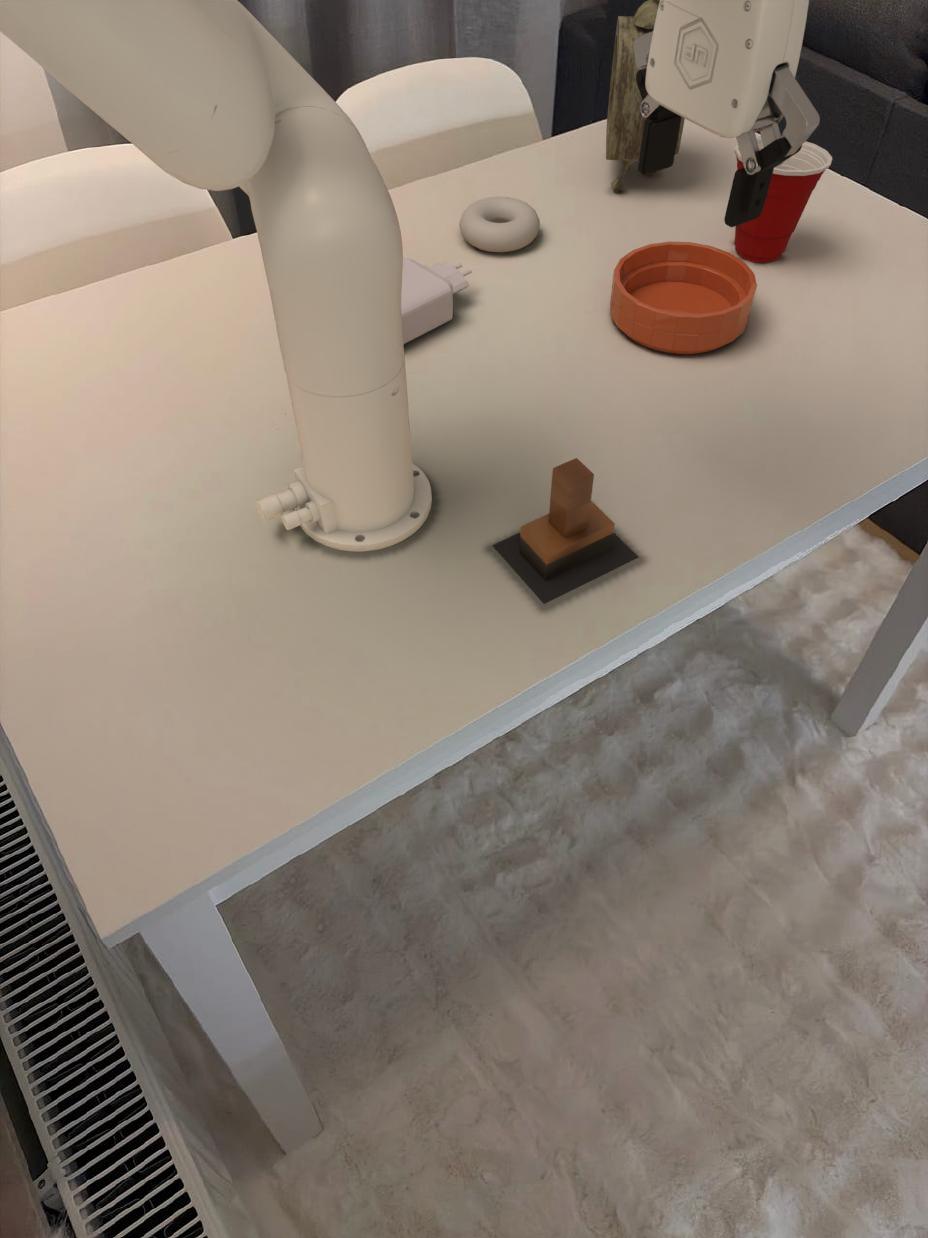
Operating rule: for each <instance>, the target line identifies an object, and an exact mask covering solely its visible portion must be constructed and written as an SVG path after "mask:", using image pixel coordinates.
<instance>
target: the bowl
mask: <svg viewBox="0 0 928 1238" xmlns="http://www.w3.org/2000/svg"><path fill="white" fill-rule="evenodd" d="M612 274H613V276H612V284H611V292H610V299H609V300H610V301H609V311H610V312H609V314H610V317H611V319H612V320H613V322H614V323H615V325H616V327H617V328H618V329H619V330H620V331H622V333H624V335H626V336H627V337H628V339H629V338H630V339H631V340H632V341H634V342H635V343H637V344H639V345H641V346H643V347H646V348H648V349H651V350H654V351H657V352H663V353H669V354H676V355H677V354H678V355H694V354H703V353H707V352H711V351H714V350H717V349H719V348H722V347H724V346H726V345H728V344H730V343H733V342H734V341H735V340H736V339H737V338H738V337H740V336H741V335H742V334H743V333H744V332H745V330H746V327H747V325H748V323H749V319H750V316H751V311H752V308H753V303H754V300H755V297H756V296H755V295H756V292H757V288H758V284H757V279H756V275H755V273H754V271H753V270H752V269H751V268H750V266H749V265H748V264H747V263H746V262H745V261H743V260H742V259H740V258H739V257H737V256H736V255H734V254H733V253H731V252H729V251H727V250H723V249H721V248H718V247H715V246H713V245H708V244H704V243H703V244H702V243H698V242H690V241H663V242H656V243H648V244H646V245H644V246H641V247H638V248H635V249H632V250H631V251H629V252H628V253H627V254H625V255H624V256H622V257H621V258H620V259H619V260H618V262H617V264H616V266H615V267H614V269H613V273H612Z"/></svg>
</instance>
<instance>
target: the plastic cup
mask: <svg viewBox="0 0 928 1238" xmlns="http://www.w3.org/2000/svg"><path fill="white" fill-rule="evenodd" d="M756 139H757V143H758V147H759V151H760V150H761V149H763V148H764V146H763V142H762V138H761V135H757V136H756ZM734 154H735V156H736V157H735V158H736V170H738V169H741V168H744V165H743V161H742V158H741V154H740V150H739V146H738V143H736V145H735V147H734ZM832 161H833V156H832V155H831V154H830V153H829V151H828V150H826V149H825V148H823V147H821V146H819V145H818V144H815V143H813V142H809V141H807V140H806V141H805V143H803V144H802V147H801V149H800V151H799V152H798V153H796V154H795V155H793V156H791V157H790V158H788V159H787V160H785V161H784V162H783V164H781V165H779V166H776V167H774V170H773V174H772V178H771V181H770V185H769V189H768V193H767V197H766V201H765V204H764V207H763V209H762V213H761V215H760V216H759V217H758V218H757V219H754V220H751V221H748V222H746V223H743V224H740V225H737V226H735V227H734V228H735V229H734V241H733V242H734V250H735V252H736V253H735V254H737V255H738V256H739V257H741V258H742V259H744V260H747V261H749V262H752V263H753V262H754V263H759V264H760V263H761V264H762V263H772V262H774V261H777V260H779V259H780V258H782V255H783V254H784V253H785V250H786V248H787V246H788V244H789V242H790V239H791V237H792V235H793V233H794V232H795V230H796V228H797V226H798V224H799V222H800V219H801V217H802V215H803V213H804V211H805V209H806V206H807V204H808V202H809V200H810V198H811V196H812V193H813V191H814V190H815V188H816V186H817V185H818V182H819V181H820V180H821V178H822V175H824V172H826V170H828V169H829V168H830V166H831V165H832Z"/></svg>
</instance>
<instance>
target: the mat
mask: <svg viewBox="0 0 928 1238" xmlns="http://www.w3.org/2000/svg"><path fill="white" fill-rule="evenodd" d="M491 546H492V548H494V549H495V551H496V552H497V553H498V555H499V556H501V557H502V559H504V561H505V562H506V563H507V564H508V566H509V567H510V568H511V569H512V570H513V571H514V572H515V573H516V574H517V576H518V577H519V578H520V579H521V580H522V581H523V582H524V584H526V586H527V587H528V588H529V589H530V590H531V592H533V594H534V595H535V596H536V597H537V598H538V599H539V600H540V602H542V604H543V605H545V604H548V603H549V602H551V601H553V600H556V599H558V598H559V597H561V596H564V595H566V594H567V593H568V594H569V592H572V591H574V590H576V589H577V588H581V587H582V586H584V585H586V584H588V583H590V582H592V581H594V580H596V579H598V578H600V577H602V576H604V575H606V574H608V573H610V572H612V571H614V570H616V569H619V568H620V567H622V566H624V565H626V564H629V563H630V562H632V561H634V560H637V559H638V558H639V555H637V553H635V552H634V551H633V550H632V549H631V548H630V547H629V546H628V545H627V544H626V543H625V542H624V541H623V540H622V539H621V538H620V537H619V536H618V535H617V534H616V533H615V532H613V539H612V545H611V549H610V550H608V551H606V552H604V553H602V554H600V555H598V556H596V557H594V558H592V559H590V560H588V561H586V562H584V563H581V564H579V565H577V566H575V567H573V568H571V569H569V570H567V571H565V572H563V573H561V574H559V575H557V576H555V577H553V578H551V579H548V580H546V581H545V580H544V579H543V578H542V577H541V576H540V575H539V574H538V573H537V571H536V570H535V569H534V568H533V567H532V566H531V565H530V564H529V563H528V562H527V560H526V559H525V558H524V557H523V556H522V555H521V554H520V553H519V547H520V532H518V533H516V534H514V535H512V536H510V537H507V538H505V539H503V540H500V541H499V542H497V543H494V544H492V545H491Z"/></svg>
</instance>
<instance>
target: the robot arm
mask: <svg viewBox="0 0 928 1238" xmlns="http://www.w3.org/2000/svg"><path fill="white" fill-rule="evenodd" d="M809 3H810V0H660V3H659V7H658V11H657V16H656V21H655V25H654V30H653V31H652V32H649V33H646V34H644V35H641V36H639V37H636V38H635V39H634V42H633V48H634V55H635V62H636V69H637V68H638V72H637V74H636V83H637V86H638V89H639V91H640V94H641V97H642V100H643V101H642V102H641V105H640V112H641V114H642V116H643V117H645V118H646V120H645V123H644V130H643V137H642V144H641V150H640V157H639V161H638V164H637V172H638V173H640V175H643V176H646V175H649V174H650V173H653V172H656V171H657V172H660V171H662V170H665V169H669V168H671V167H672V166H673V165H674V162H675V157H676V155H675V151H676V146H677V140H678V134H679V129H680V123H681V117H683V118H685V120H686V121H689V122H690V123H692V124H694V125H696V126H698V127H700V128H701V129H704V130H706V131H708V132H710V133H712V134H714V135H716V136H719V137H720V138H724V139H734V138H736V142H737V143H738V146H739V150H740V154H741V158H742V161H743V165H744V168H741V169H738V168H737V169H738V170H737V169H736V171H735V172H734V175H733V179H732V184H731V187H730V192H729V197H728V201H727V206H726V210H725V214H724V217H723V218H724V219H723V221H724V224H725V225H726V226H728V227H729V228H735V227H736V226H737V225H740V224H743V223H746V222H748V221H751V220H754V219H757V218H758V217H759V216H760V215H761V213H762V209H763V207H764V204H765V201H766V197H767V193H768V189H769V185H770V181H771V178H772V174H773V170H774V167H776V166H779V165H781V164H783V162H784V161H785V160H787V159H788V158H790V157H791V156H793V155H795V154H796V153H798V152H799V151H800V149H801V147H802V144H803V143H805V141H806V142H807V140H808V139H809V138H810V137H811V135H812V134H813V133H814V132H815V130H816V129H817V128H818V127H819V125H820V122H821V117H820V114H819V112H818V111H817V108H815V106H814V105H813V103H812V102H811V100H810V99H809V97H808V96H807V94H806V93H805V91H804V89H803V88H802V86H801V85H800V83H799V82H798V81H797V79H796V76H797V72H798V66H799V63H800V57H801V52H802V47H803V42H804V41H803V40H804V36H805V30H806V24H807V17H808V11H809V5H810V4H809ZM0 33H1V34H2V35H4V36H5V37H6V38H7V39H9V40H10V41H11V42H12V43H13V44H14V45H16V46H17V47H18V48H19V49H21V51H23V52H24V53H25V54H26V55H28V56H29V57H30V58H31V59H33V60H34V61H35V62H36V63H37V64H38V65H39V66H40V67H41V68H42V69H44V71H46V72H47V73H48V74H49V75H50V76H51V77H53V79H54V80H55V81H57V82H58V83H59V84H60V85H61V86H63V87H64V88H65V89H66V90H67V91H68V92H70V93H71V94H72V95H73V96H74V97H76V98H77V99H78V100H79V101H80V102H81V103H83V104H84V105H85V106H86V107H87V108H89V109H90V110H91V111H93V112H94V113H95V115H97V116H98V117H99V118H101V119H102V120H103V121H104V122H106V123H107V124H108V125H109V126H111V127H112V128H113V129H114V130H115V131H116V132H118V134H120V135H121V136H122V137H124V138H125V139H126V140H127V141H128V142H130V143H131V144H132V146H134V147H135V148H136V149H138V150H139V151H140V152H141V153H142V154H143V155H144V156H146V157H147V158H148V159H149V160H150V161H151V162H153V163H154V164H155V165H156V166H157V167H158V168H159V169H161V170H162V171H163V172H164V173H166V174H168V175H169V176H170V177H172V178H173V179H176V180H178V181H179V182H181V183H183V184H185V185H188V186H190V187H193V188H196V189H199V190H205V191H206V190H207V191H212V192H213V191H214V192H221V191H227V190H228V191H229V190H233V189H236V188H240V189H241V190H242V191H243V192H244V193H245V194H246V195H247V196H248V198H249V203H250V209H251V213H252V218H253V222H254V225H255V229H256V230H255V231H256V233H257V238H258V243H259V247H260V253H261V257H262V262H263V267H264V271H265V276H266V280H267V281H266V282H267V284H268V291H269V296H270V301H271V305H272V311H273V312H272V313H273V316H274V322H275V328H276V334H277V338H278V343H279V344H278V345H279V349H280V354H281V359H282V365H283V369H284V370H283V371H284V373H285V376H286V382H287V386H288V392H289V396H290V397H289V398H290V402H291V407H292V413H293V417H294V423H295V428H296V433H297V437H298V445H299V448H300V453H301V459H302V463H303V465H301V466H300V467H297V468H295V469H294V475H295V480H296V481H294V482H291V483H289V484H287V487H286V490H284V491H281V492H278V493H272V494H270V495H267V496H265V497H263V498H260V499H258V500H256V501H255V506H256V509H257V511H258V514H259V516H260V517H261V519H262V521H264V522H266V521H269V520H271V519H274V518H276V517H279V516H281V521H282V524H283V526H284V528H285V529H286V530H287V531H290V530H292V529H295V528H297V527H300V528H301V529H302V531H304V533H305V534H306V535H307V536H308V537H309V538H311V539H313V540H314V541H315V542H317V543H319V544H321V545H324V546H325V547H328V548H331V549H335V550H339V551H345V552H369V551H370V552H371V551H378V550H382V549H385V548H388V547H392V546H394V545H396V544H399V543H401V542H403V541H405V540H407V538H409V537H411V536H412V535H414V534H415V533H416V532H417V531H418V530H419V529H420V528H422V526H423V525H424V523H425V522H426V521H427V519H428V517H429V515H430V512H431V509H432V504H433V495H432V487H431V483H430V481H429V479H428V477H427V475H426V473H424V471H423V470H422V469H421V468H420V467H419V466H418V465H417V464H415V463H414V462H413V451H412V437H411V436H412V435H411V423H410V410H409V397H408V384H407V383H408V382H407V371H406V357H405V348H404V344H403V332H402V311H401V291H402V273H403V258H404V248H403V247H404V246H403V238H402V237H403V236H402V231H401V226H400V222H399V218H398V213H397V211H396V207H395V204H394V202H393V199H392V196H391V194H390V192H389V189H388V187H387V185H386V183H385V181H384V179H383V176H382V173H381V172H380V170H379V168H378V166H377V164H376V163H375V161H374V159H373V158H372V155H371V153H370V151H369V148H368V147H367V145H366V142H365V140H364V138H363V136H362V135H361V133H360V131H359V129H358V127H357V126H356V124H355V123H354V122H353V120H352V119H351V118H350V117H349V116H348V114H347V112H345V111H344V110H343V109H342V108H341V106H340V105H339V104H338V103H337V102H336V101H335V100H334V99H333V97H331V96H330V95H329V94H328V92H326V90H325V89H324V88H323V87H322V86H321V85H320V84H319V83H318V81H316V80H315V79H314V78H313V77H312V76H311V75H310V73H308V72H307V70H305V68H304V67H303V66H302V65H301V64H300V63H299V61H297V60H296V59H295V58H294V57H293V56H292V55H291V54H290V53H289V52H288V51H287V49H285V47H283V45H282V44H281V43H280V42H279V41H278V40H277V39H276V38H275V37H274V36H273V35H272V34H271V33H270V32H269V31H268V29H266V27H264V25H263V24H262V23H261V22H260V21H259V20H258V19H257V18H256V17H255V16H254V15H253V14H252V13H251V12H250V11H249V10H248V9H247V8H246V7H245V6H244V5H243V4H242V3H241V2H240V1H239V0H0ZM783 117H784V119H785V127H784V129H783V131H782V133H781V131H780V127H779V123H780V122H781V121H782V120H783ZM758 132H759V134H760V136H761V138H762V142H763V146H764V148H763V149H761V150H760V151H759V147H758V143H757V139H756V137H757V136H756V133H758ZM737 143H736V144H737ZM657 172H656V173H657ZM293 509H294V510H293ZM290 510H293V511H291V512H288V511H290ZM285 512H288V513H286V514H284V513H285Z"/></svg>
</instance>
